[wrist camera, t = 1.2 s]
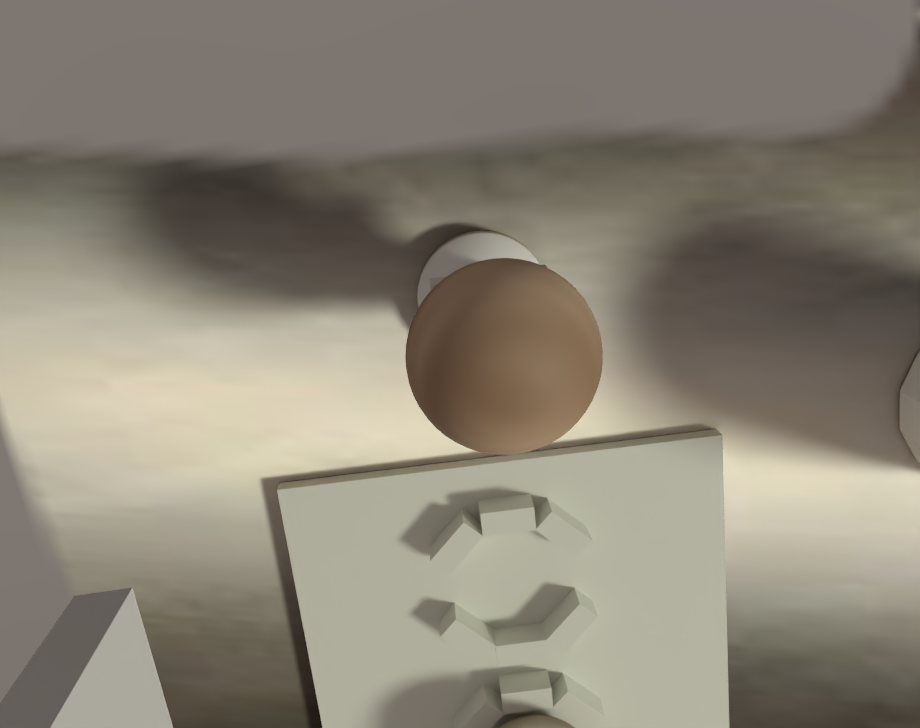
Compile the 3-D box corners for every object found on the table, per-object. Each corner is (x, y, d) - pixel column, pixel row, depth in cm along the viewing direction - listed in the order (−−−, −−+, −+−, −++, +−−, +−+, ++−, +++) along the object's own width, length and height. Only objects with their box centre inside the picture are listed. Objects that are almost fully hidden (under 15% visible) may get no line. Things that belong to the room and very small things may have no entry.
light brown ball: (395, 256, 23) (390, 292, 18) (575, 234, 23) (616, 265, 18) (418, 424, 25) (418, 500, 20) (588, 403, 25) (629, 473, 20)
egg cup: (409, 238, 28) (407, 266, 23) (539, 223, 28) (567, 247, 23) (425, 363, 29) (427, 416, 24) (550, 348, 30) (578, 398, 24)
